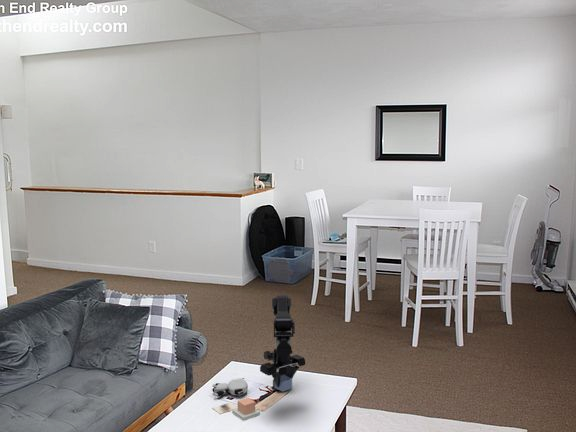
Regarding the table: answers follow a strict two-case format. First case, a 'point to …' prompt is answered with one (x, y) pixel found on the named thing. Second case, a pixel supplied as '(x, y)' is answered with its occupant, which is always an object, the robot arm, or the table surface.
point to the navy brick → (284, 383)
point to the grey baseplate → (247, 416)
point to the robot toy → (230, 387)
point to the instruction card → (225, 408)
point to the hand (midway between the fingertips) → (283, 385)
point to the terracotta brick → (246, 406)
